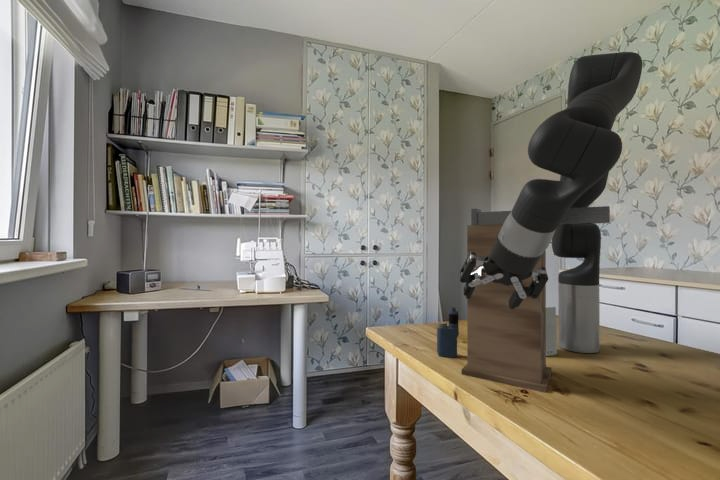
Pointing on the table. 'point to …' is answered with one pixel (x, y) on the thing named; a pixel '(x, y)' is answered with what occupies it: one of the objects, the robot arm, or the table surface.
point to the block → (571, 217)
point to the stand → (505, 326)
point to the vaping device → (448, 336)
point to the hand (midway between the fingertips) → (488, 300)
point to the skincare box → (551, 331)
